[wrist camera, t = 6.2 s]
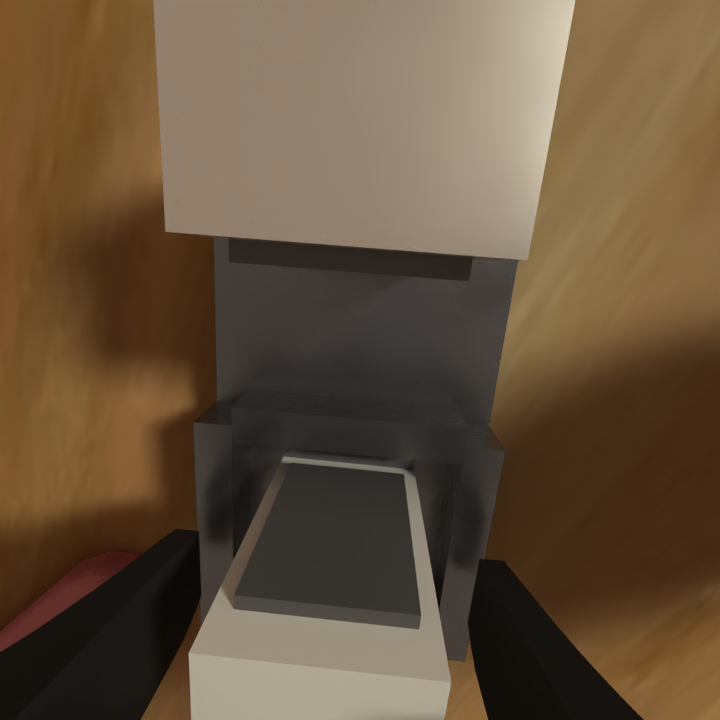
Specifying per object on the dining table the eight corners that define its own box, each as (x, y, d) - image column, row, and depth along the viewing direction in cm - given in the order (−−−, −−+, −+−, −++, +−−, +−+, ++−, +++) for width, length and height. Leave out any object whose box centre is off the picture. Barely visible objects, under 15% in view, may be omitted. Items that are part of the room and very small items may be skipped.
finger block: (399, 577, 13) (418, 851, 7) (279, 564, 13) (195, 823, 7) (415, 460, 11) (454, 667, 6) (283, 447, 12) (187, 637, 6)
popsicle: (-113, 736, 16) (92, 547, 13) (-72, 695, 18) (121, 518, 15) (-11, 802, 17) (205, 640, 14) (21, 758, 19) (222, 603, 16)
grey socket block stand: (538, 26, 10) (997, -639, 3) (445, 590, 14) (514, 925, 7) (232, 7, 10) (-153, -663, 3) (236, 569, 15) (97, 875, 7)
